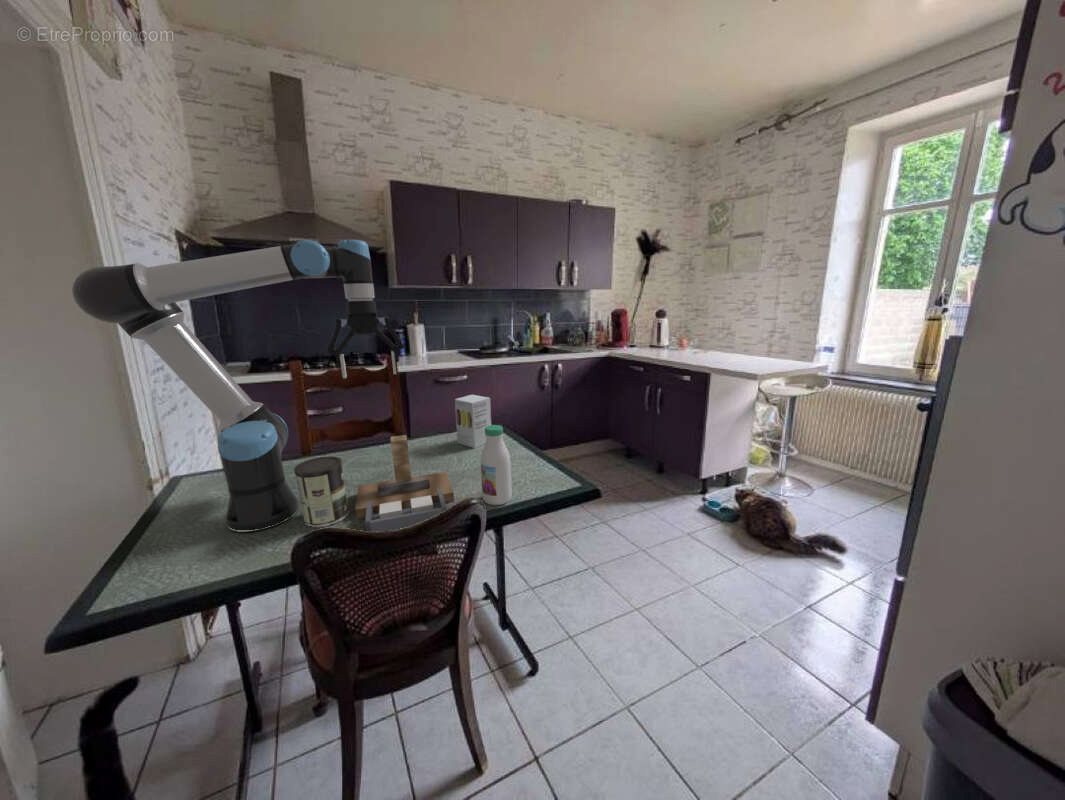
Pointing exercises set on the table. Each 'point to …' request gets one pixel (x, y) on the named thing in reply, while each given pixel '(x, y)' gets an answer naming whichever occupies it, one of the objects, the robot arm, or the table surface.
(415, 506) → the tile right
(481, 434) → the supplement box
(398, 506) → the tile left
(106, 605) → the table surface
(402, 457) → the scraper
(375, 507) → the flat wooden board
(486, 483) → the milk bottle
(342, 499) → the coffee can
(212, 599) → the table surface
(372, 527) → the tray
